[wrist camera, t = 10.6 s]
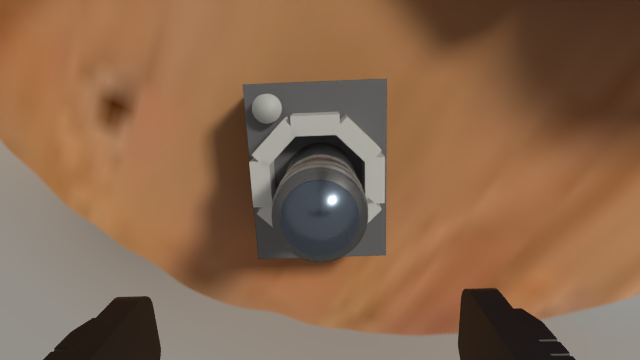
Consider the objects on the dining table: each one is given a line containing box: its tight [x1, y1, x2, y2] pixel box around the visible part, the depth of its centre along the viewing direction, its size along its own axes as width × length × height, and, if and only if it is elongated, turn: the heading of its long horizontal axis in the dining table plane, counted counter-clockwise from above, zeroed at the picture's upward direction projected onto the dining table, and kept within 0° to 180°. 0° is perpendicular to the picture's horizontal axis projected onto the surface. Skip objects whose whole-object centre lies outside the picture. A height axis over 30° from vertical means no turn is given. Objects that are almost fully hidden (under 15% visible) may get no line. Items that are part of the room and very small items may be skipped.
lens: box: [272, 142, 368, 262], centre depth 21 cm, size 5×5×8 cm
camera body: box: [243, 79, 387, 259], centre depth 26 cm, size 12×9×7 cm
